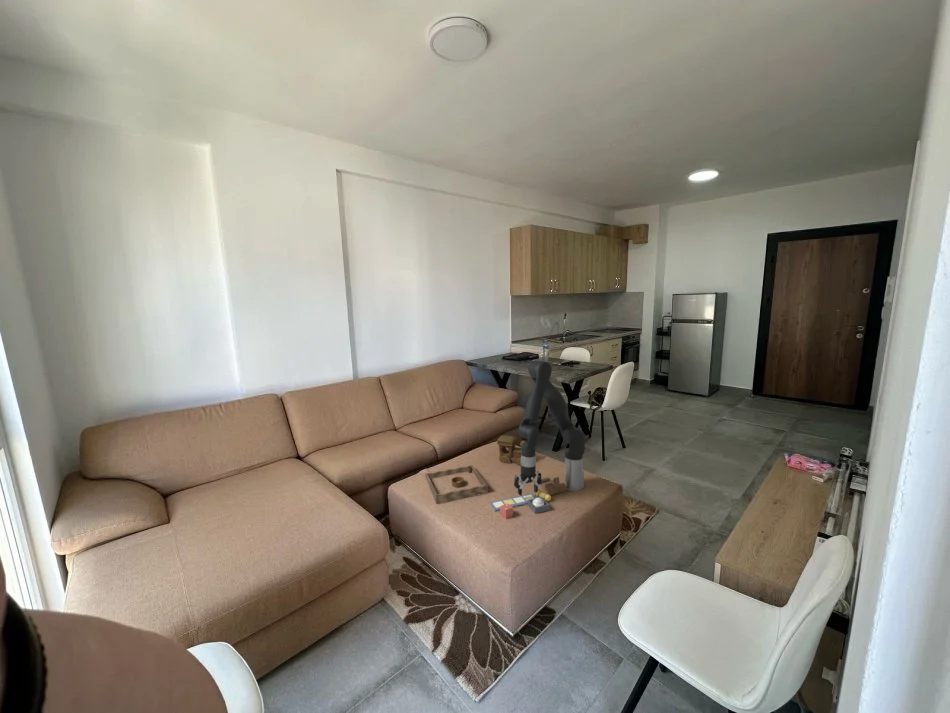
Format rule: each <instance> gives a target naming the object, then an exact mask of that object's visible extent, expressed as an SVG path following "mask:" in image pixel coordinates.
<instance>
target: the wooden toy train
mask: <svg viewBox="0 0 950 713" xmlns="http://www.w3.org/2000/svg"><path fill="white" fill-rule="evenodd" d="M517 439H518V437H517V436H515V435H509V434H508V435H507V434H506V435H505V434H503V435H500V437H499V438H497V444H496V445H498V453H499V456H498V458H499V460H498V461H500V463H503V464H508V465H509V464H516V466H520V467H521V447H522V444H523V443H525V442H527V441H526V440H521V441H520V443H519V446H520V447H516V443H517V441H518V440H517Z"/></svg>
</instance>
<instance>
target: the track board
mask: <svg viewBox="0 0 950 713" xmlns="http://www.w3.org/2000/svg"><path fill="white" fill-rule="evenodd" d="M522 495H523V496H520V495H519V497H518V496H513V497H509V498H504V499H499V500H495V501H490V502H489V503H490V504H489V506H490V507H491V506H492V507H491V508H492V510H493V509H494V510H493V511H494V512H500V511H499V510H500V506H502V505H504V504H509V505H510V506H512V507H514V508H517V507H516V506H518V507H521V506H520V505H522V506H525V505H524V504H527V500H530V499H534V498H536V495H534V494H533V493H531V492H530V493H527V495H526V494H522ZM525 495H526V496H525Z"/></svg>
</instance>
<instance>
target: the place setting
mask: <svg viewBox="0 0 950 713" xmlns="http://www.w3.org/2000/svg"><path fill="white" fill-rule="evenodd" d="M467 466H468V467H467V469H468V471H467V472H468V473H472V467H471V465H467ZM464 485H465V479H464V477H463V476H462V477H461V476H454V477H453V478H452V479H451V486H452V487H453V488H462V487H464Z"/></svg>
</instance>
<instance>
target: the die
mask: <svg viewBox="0 0 950 713" xmlns="http://www.w3.org/2000/svg"><path fill="white" fill-rule="evenodd" d="M499 515H500V516H501V517H502V518H504V519H505V520H507V519H508V518H511V517H513V516H514V508H513V507H512V506H510V505H509V504H504V505H502V506H500V511H499Z"/></svg>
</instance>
